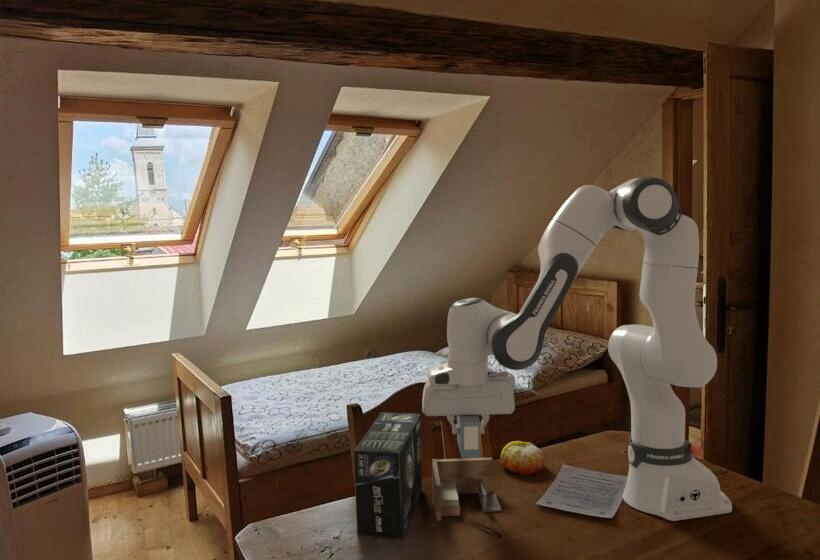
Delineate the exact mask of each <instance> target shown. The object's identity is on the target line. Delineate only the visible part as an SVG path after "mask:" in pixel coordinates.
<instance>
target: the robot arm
mask: <svg viewBox="0 0 820 560" xmlns="http://www.w3.org/2000/svg"><path fill="white" fill-rule="evenodd" d="M611 228H615V229H617V230H622V231H632V232H639V233H640V234H641V235H642V238H643V241H644V253H643V263H642V267H641V268H642V270H641V276H640V277H641V278H640V285H639V292H638V293H639V300H640V302H641V304H642V305H644V308H646V309H647V310H648V312H649V314H650V317H651V321H652V324H653V326H649V325H646V324H645V325H644V324H623V325H621V326H618V327H617V328H616V329H615V330H613V332H612V333H611V335H610V337H609V340H608V344H607V351H608V355H609V357H610V359H611V360H612V362H613V363H614V364H615V365H616V367H617V368H618V370H619V372H620V374H621V376H622V379H623V382H624V383H625V387H626V390H627V394H628V398H629V402H630V415H631V416H630V421H631V422H630V424H631V427H630V431H631V434H630V436H629V438H628V441H629V442H628V447H627V448H628V449H627V451H628V454H627V455H628V462H629V465H628V473H627V478H626V483H625V486H624V490H623V493H622V499H623V501H624V502H625V504H627V505H628V506H630V507H632V508H633V509H636V510H637V511H641V512H644V513H647V514H651V515H655V516H658V517H660V518H663V519H665V520H668V521H673V522H675V521H676V522H677V521H682V520H683V521H685V520H690V519H696V518H703V517H709V516H710V517H711V516H716V515H723V514H729V513H732V511H733V503H732V501H731V500H730V498H729V497H728V496H727V495H726V494H725V493H724V492H723V491H721V487H720V483H719V480H718V478H717V477H716V475H715V474H714V472H713V471H711V470H710V469H709V468H708V467H707V466H705V465H704V464H703V463H701V462H700V461H699V460H697V459H696V458H700V457H701V455H703V454H702V453H703V450H702V449H701V448H699V447H698V446H697V445H693V444H692V443H691V442H690V441H689V440H687V439H685V436H686V409H685V406H684V404H683V403H682V401H681V400H680V398H679V397H678V396H677V395H676V394H675V392H674V391H673V389H672V386H671V385H673V386H676V387H684V388H701V387H703V386H705V385H707V384H708V383H709V382H710V381H711V380H712V379H713V378H714V376H715V374H716V372H717V368H718V358H717V353H716V351H715V349H714V347H713V346H712V344H710V342H709V341H708V340H707V339H706V337H705V335H704V334H703V332H702V329H701V327H700V323H699V321H698V317H697V311H696V290H697V289H696V288H697V278H698V268H699V261H700V260H699V259H700V239H699V237H700V235H699V227H698V225H697V223H696V221H695V220H694V219H693V218H691V217H689V216H687V215H684V214H683V213H682V208H681V206H680V204H679V201H678V197H677V195H676V192H675V189H674V187H673V186H672V185H671V184H670V183H669V182H668V181H666V180H665V179H663V178H661V177H660V178H659V177H657V176H644V177H643V176H642V177H637V178H636V177H635V178H632V179H629V180H626V181H625V182H623V183H621V184H618V185H616V186H613V187H611V188H610V189H608V190H605V189H604V188H602V187H599V186H597V185H592V184H584V185H582V186H580V187H578V188H577V189H575V190H574V192H572V194H571V195H570V196H569V197H568V198H567V199H566V200H565V201H564V203H563V204H562V205H561V206H560V207H559V209H558V210H557V212H556V213H555V215H554V216H553V218H552V219H551V220H550V222H549V224H548V225H547V227H546V228H545V230H544V232H543V234H542V236H541V239H540V241H539V243H538V247H537V253H538V258H539V262H540V263H539V264H540V267H539V268H540V272H539V276H538V279H537V281H536V283H535V285H534V287H533V288H532V290H531V292H530V294H529V296H528V297H527V299H526V300H525V302H524V304H523V305H522V307H521V309H520V311H519V312H518V313H514V312H512V311H508V310H504V309H501V308H499V307H497V306H495V305H493V304H491V303H489V302H487V301H485V300H484V299H483V298H480V297H469V298H468V297H467V298H463V299H460V300H457V301H455V302H454V303H453V304H452V305H451V306H450V307H449V310H448V315H447V320H446V321H447V323H446V325H447V326H446V327H447V328H446V339H447V344H448V352H447V359H446V362H445V363H442V364H438V365H436V366H433V367H429V369H428V370H427V372H426V373H427V381H425V384H424V386H423V391H422V400H421V401H422V403H421V405H422V407H421V408H422V410H421V411H422V414H423V415H425V417H445V416H446V418H447V421H448V422H449V424H450V426H451V427H452V428H451V429H452V435H457V434H460V431H459V430H460V427H459V424H457V423H455V422H454V420H455V416H457V415H478V416H479V415H480V416H481V417H482V420H480V435H484V434H485V427H486V426H487V423H488V422H489V421H490V415H508V414H509V415H511V414H512V413H514V411H515V398H514V390H515V387H516V378H515V376H514V375H513V374H512V373H510V372H509V371H505V370H504V371H503V370H502V371H489V357H490V355H491V356H494V359H495V360H496V362H498V363H499V365H501V366H502V367H503V368H506V369H508V370H513V371H520V370H526V369H527V368H529V367H531V366H533V365H534V364H535V363H536V362H537V361H538V359H539V358H540V356H541V354H542V352H543V347H544V341H545V337H546V332H547V330H548V327H549V326H550V324H551V322H552V320H553V318H554V317H555V315H556V313H557V312H558V310H559V308H560V306H561V305H562V303H563V301H564V299H565V297H566V296H567V294H568V292H569V291H570V288H572V285H573V283H574V282H575V279H576V278H577V277H578V275H579V274H580V271H581V270H582V268H583V267H584V265H585V264H586V263H587V261H588V259H589V258H590V256H592V254H593V253H594V251H595V249H596V248H597V247H598V244H599V243H600V241H601V240H602V238H603V236H604V235H605V234H606V233H607V232H608V231H609V230H610V229H611ZM693 456H694V457H693ZM695 457H696V458H695Z"/></svg>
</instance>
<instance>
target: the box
mask: <svg viewBox="0 0 820 560" xmlns="http://www.w3.org/2000/svg"><path fill="white" fill-rule="evenodd" d="M421 417H422V416H421V413H409V412H380V413H379V414H378V416H377V418H376V419H375V421H374V422H373V423H372V425H371V426H370V428H369V429H368V430H367V432H366V433H365V435H364V436H363V437H362V439H361V440H360V441H359V442H358V444H357V446H356V447H355V449H354V450H353V458H354V459H353V460H354V463H353V464H354V484H355V485H354V486H355V505H356V506H355V512H356V513H355V514H356V516H355V517H356V534H357V535H358V536H366V537H367V536H368V537H377V538H378V537H379V538H391V539H392V538H394V539H403V538H404V537H405V533H406V531H407V528H408V526H409V524H410V521H411V519H412V516H413V514H414V511H415V509H416V506H417V503H418V502H419V499H420V495H421V493H422V489H423V472H422V471H423V469H422V466H423V465H422V432H421V431H422V430H421V429H422V428H421V427H422V425H421V424H422V423H421V422H422V421H421V420H422V419H421Z"/></svg>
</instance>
